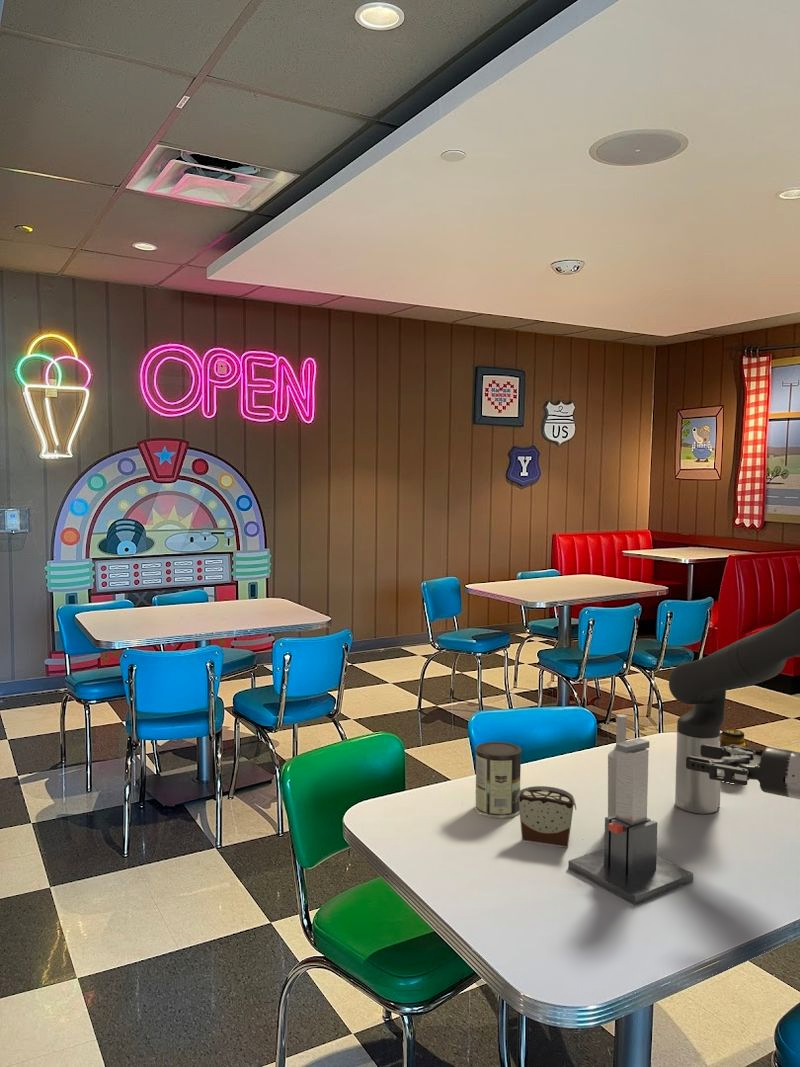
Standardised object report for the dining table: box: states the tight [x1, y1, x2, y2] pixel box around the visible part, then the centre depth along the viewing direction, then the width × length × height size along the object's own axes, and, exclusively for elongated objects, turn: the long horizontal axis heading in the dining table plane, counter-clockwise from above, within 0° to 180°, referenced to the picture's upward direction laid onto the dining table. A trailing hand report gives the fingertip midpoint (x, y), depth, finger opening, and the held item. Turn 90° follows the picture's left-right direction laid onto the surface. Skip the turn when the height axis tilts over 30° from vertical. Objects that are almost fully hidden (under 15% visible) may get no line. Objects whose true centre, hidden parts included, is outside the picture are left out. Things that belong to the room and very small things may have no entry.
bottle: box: [607, 713, 628, 817], centre depth 167 cm, size 5×5×25 cm
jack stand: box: [567, 814, 694, 906], centre depth 149 cm, size 16×16×10 cm
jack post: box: [615, 737, 650, 828], centre depth 148 cm, size 6×4×23 cm, turn 123°
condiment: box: [720, 728, 746, 748], centre depth 200 cm, size 7×8×12 cm
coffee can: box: [475, 741, 522, 819], centre depth 179 cm, size 10×10×14 cm
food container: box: [516, 785, 577, 848], centre depth 164 cm, size 12×6×10 cm, turn 71°
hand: (693, 755), depth 141 cm, fingers open, 8 cm apart
